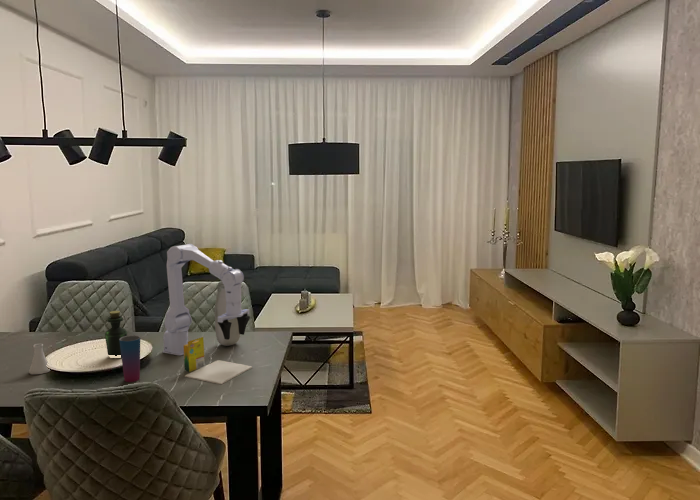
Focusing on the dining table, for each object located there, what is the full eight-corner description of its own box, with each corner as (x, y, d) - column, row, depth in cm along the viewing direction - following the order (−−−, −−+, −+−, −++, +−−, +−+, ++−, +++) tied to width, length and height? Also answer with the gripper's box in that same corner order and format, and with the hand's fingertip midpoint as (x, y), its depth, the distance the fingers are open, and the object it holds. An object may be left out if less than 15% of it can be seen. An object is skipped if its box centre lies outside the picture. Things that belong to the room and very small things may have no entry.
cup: (129, 384, 187) (127, 342, 185) (117, 380, 190) (115, 338, 188) (146, 378, 192) (144, 337, 190) (134, 374, 196) (132, 334, 194)
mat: (185, 376, 194) (185, 375, 194) (217, 361, 210) (217, 359, 210) (221, 384, 187) (221, 383, 187) (252, 367, 203) (252, 366, 203)
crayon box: (200, 364, 206) (199, 335, 204) (205, 366, 204) (204, 336, 203) (183, 370, 200) (182, 340, 198) (189, 372, 198) (188, 341, 197)
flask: (28, 376, 194) (25, 349, 192) (29, 369, 200) (27, 343, 199) (51, 373, 197) (49, 346, 196) (51, 366, 203) (49, 340, 202)
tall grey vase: (228, 339, 237) (227, 276, 233) (245, 344, 231) (243, 279, 227) (211, 345, 229) (208, 280, 225) (227, 350, 223) (225, 283, 219)
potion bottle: (129, 352, 220) (126, 308, 217) (127, 358, 212) (125, 313, 210) (107, 354, 218) (104, 310, 215) (105, 360, 210) (102, 315, 207)
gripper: (226, 307, 198) (227, 343, 200) (254, 299, 210) (255, 333, 212) (213, 304, 202) (214, 339, 204) (241, 297, 214) (242, 330, 216)
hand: (234, 336), depth 208 cm, fingers open, 7 cm apart
